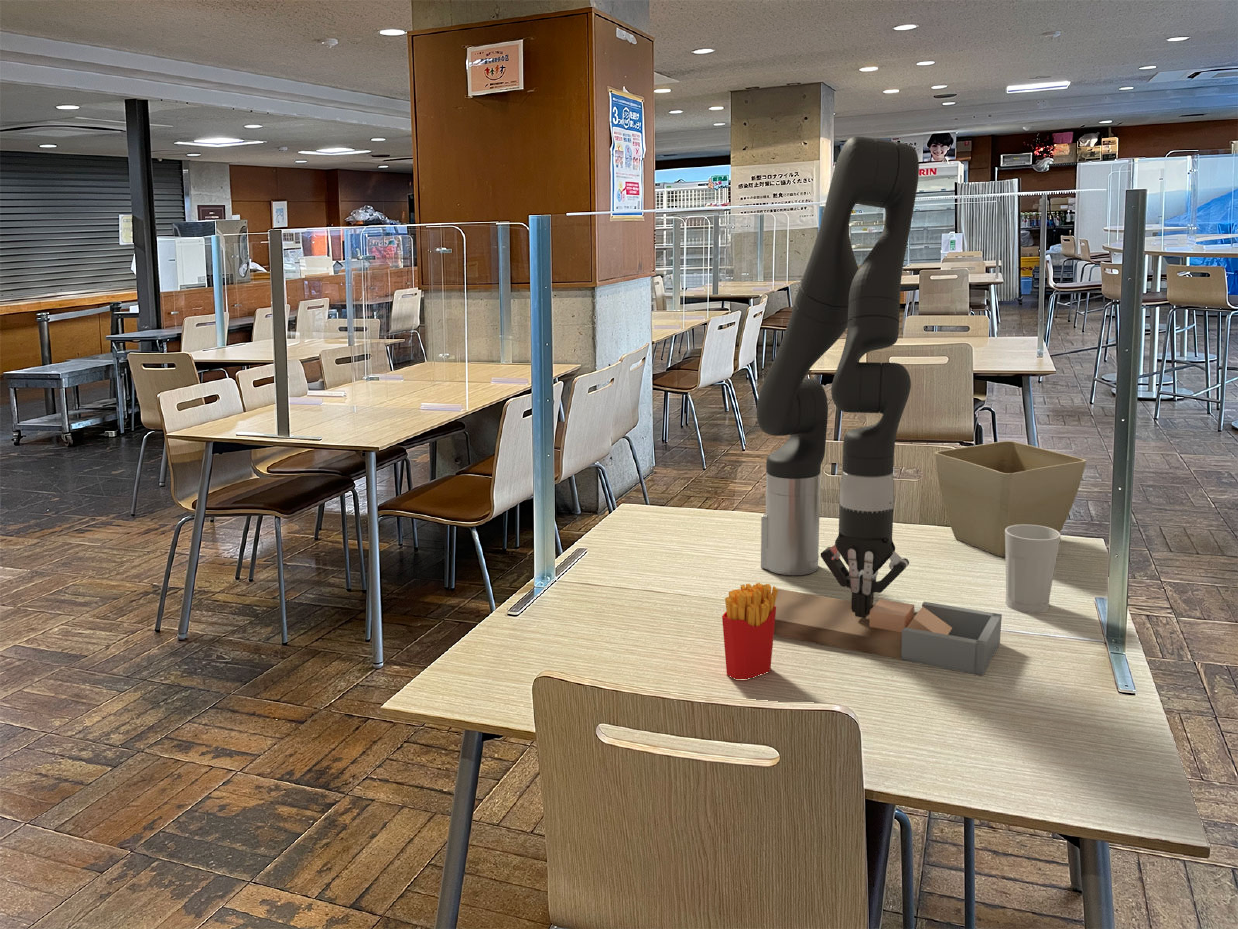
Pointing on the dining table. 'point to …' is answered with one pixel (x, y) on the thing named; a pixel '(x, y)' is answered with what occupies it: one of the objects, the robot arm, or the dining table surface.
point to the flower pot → (1005, 490)
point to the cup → (1030, 566)
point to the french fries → (749, 630)
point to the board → (831, 624)
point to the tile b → (929, 622)
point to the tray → (955, 640)
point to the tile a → (891, 615)
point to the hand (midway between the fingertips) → (862, 615)
